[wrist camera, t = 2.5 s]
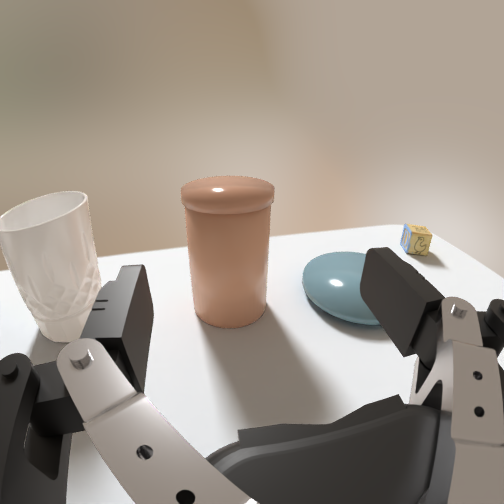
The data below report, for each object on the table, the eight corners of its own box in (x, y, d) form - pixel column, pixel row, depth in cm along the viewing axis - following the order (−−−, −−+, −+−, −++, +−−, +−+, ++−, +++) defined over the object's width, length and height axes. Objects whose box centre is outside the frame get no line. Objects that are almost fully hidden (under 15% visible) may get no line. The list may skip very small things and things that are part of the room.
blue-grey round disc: (325, 340, 21) (328, 328, 20) (288, 265, 31) (289, 255, 30) (433, 317, 23) (438, 307, 22) (379, 258, 32) (381, 249, 32)
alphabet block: (399, 243, 36) (404, 222, 35) (419, 245, 36) (425, 225, 34) (405, 254, 33) (411, 232, 32) (426, 256, 33) (433, 235, 32)
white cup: (128, 321, 22) (102, 202, 18) (47, 363, 17) (-6, 243, 12) (93, 282, 27) (72, 185, 22) (28, 312, 22) (-7, 213, 17)
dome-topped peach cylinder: (191, 332, 22) (177, 204, 17) (192, 285, 27) (183, 178, 22) (275, 326, 23) (285, 199, 18) (260, 280, 28) (264, 175, 23)
